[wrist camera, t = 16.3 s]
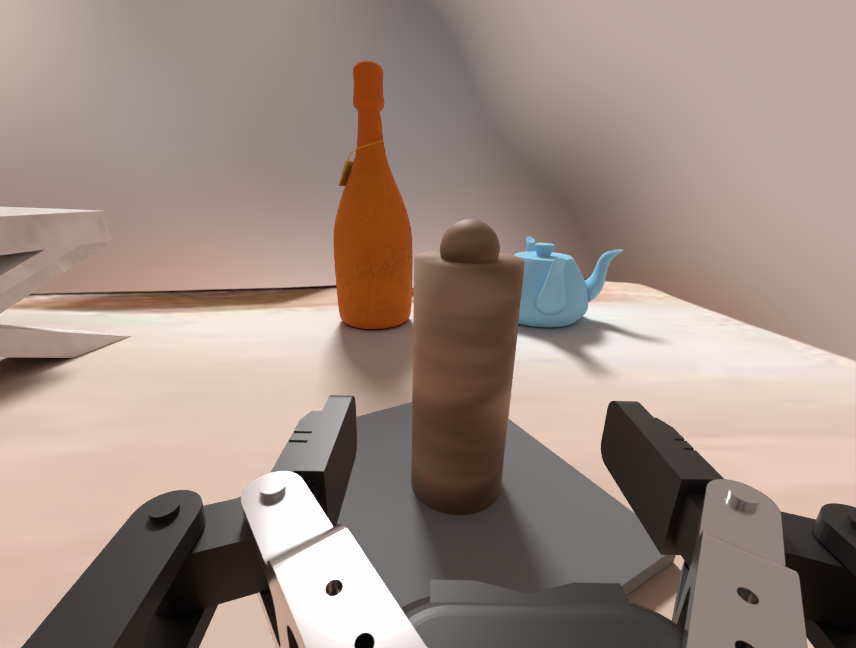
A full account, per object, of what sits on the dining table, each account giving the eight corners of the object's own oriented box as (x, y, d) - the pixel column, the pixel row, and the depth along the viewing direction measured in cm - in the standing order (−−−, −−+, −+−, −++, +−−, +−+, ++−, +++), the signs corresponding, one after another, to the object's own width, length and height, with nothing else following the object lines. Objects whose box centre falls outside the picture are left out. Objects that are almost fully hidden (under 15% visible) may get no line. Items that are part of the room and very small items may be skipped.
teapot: (463, 313, 58) (466, 241, 54) (526, 296, 67) (532, 233, 63) (552, 343, 47) (563, 256, 44) (612, 317, 56) (625, 244, 53)
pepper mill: (440, 529, 20) (454, 226, 15) (396, 467, 24) (396, 215, 19) (520, 493, 22) (554, 223, 17) (467, 443, 27) (483, 214, 22)
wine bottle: (382, 305, 60) (376, 78, 50) (427, 320, 54) (430, 62, 44) (324, 319, 54) (305, 61, 44) (367, 338, 47) (356, 40, 37)
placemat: (423, 743, 13) (423, 724, 13) (300, 444, 28) (299, 432, 28) (673, 561, 20) (678, 546, 19) (466, 397, 34) (466, 387, 34)
